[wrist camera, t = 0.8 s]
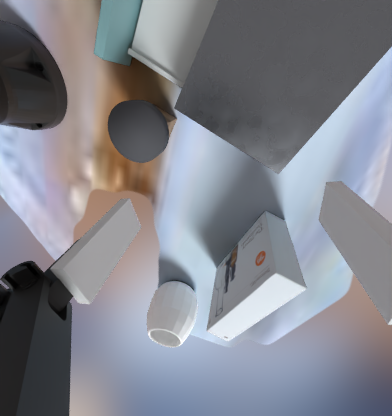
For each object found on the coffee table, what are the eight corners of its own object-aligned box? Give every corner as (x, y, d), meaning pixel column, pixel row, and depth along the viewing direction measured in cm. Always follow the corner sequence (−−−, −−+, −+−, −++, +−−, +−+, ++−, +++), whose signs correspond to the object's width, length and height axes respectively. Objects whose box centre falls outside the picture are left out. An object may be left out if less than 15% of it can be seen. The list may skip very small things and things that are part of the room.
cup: (197, 306, 59) (188, 357, 48) (158, 296, 60) (140, 343, 49) (203, 281, 52) (194, 333, 41) (158, 270, 53) (137, 317, 42)
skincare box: (262, 208, 37) (276, 272, 24) (286, 220, 37) (313, 290, 24) (214, 267, 48) (205, 333, 35) (232, 276, 49) (230, 344, 36)
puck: (112, 140, 28) (102, 144, 26) (126, 87, 24) (115, 87, 22) (157, 166, 29) (151, 172, 27) (177, 119, 25) (172, 122, 23)
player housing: (188, 104, 30) (174, 108, 23) (262, -61, 20) (275, -138, 13) (269, 156, 32) (278, 173, 25) (373, 27, 22) (433, -1, 15)
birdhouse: (122, 61, 28) (93, 53, 22) (167, -135, 19) (137, -235, 13) (210, 117, 30) (203, 123, 24) (291, -37, 20) (312, -87, 15)
